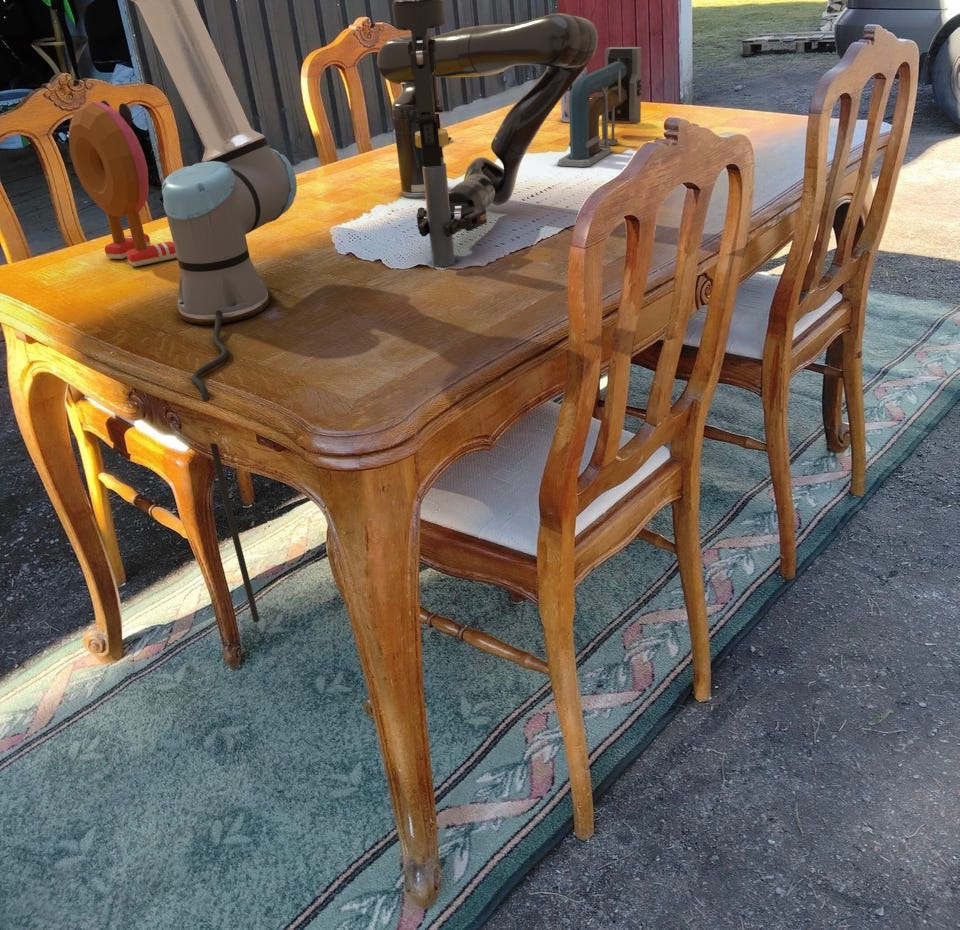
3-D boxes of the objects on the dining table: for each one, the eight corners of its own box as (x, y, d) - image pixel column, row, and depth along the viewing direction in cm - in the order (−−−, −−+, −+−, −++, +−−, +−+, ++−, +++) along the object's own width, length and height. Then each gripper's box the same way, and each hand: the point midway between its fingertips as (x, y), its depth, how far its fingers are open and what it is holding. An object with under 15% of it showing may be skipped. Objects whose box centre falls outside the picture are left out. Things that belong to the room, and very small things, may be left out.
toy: (191, 258, 192) (154, 99, 176) (145, 273, 186) (103, 110, 170) (136, 241, 205) (97, 91, 189) (92, 254, 199) (48, 101, 183)
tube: (458, 260, 179) (449, 153, 169) (447, 267, 176) (436, 159, 166) (439, 258, 181) (429, 152, 171) (428, 265, 178) (416, 157, 168)
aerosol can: (559, 122, 275) (557, 47, 265) (562, 117, 282) (559, 42, 272) (587, 121, 274) (585, 45, 263) (589, 115, 280) (587, 41, 270)
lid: (444, 139, 153) (443, 126, 152) (452, 145, 149) (451, 132, 148) (412, 143, 152) (411, 131, 151) (419, 149, 148) (418, 137, 147)
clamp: (588, 167, 230) (586, 71, 219) (554, 165, 234) (551, 71, 223) (640, 133, 256) (641, 47, 245) (609, 132, 260) (609, 47, 249)
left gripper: (439, 1, 132) (455, 173, 144) (445, -10, 148) (459, 146, 159) (385, 6, 132) (405, 177, 144) (396, -6, 148) (413, 150, 160)
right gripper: (428, 184, 187) (395, 210, 173) (498, 184, 183) (471, 211, 169) (432, 222, 191) (400, 250, 177) (501, 223, 186) (474, 252, 173)
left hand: (433, 161), depth 152 cm, fingers closed on lid, 5 cm apart
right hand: (435, 231), depth 173 cm, fingers closed on tube, 4 cm apart
